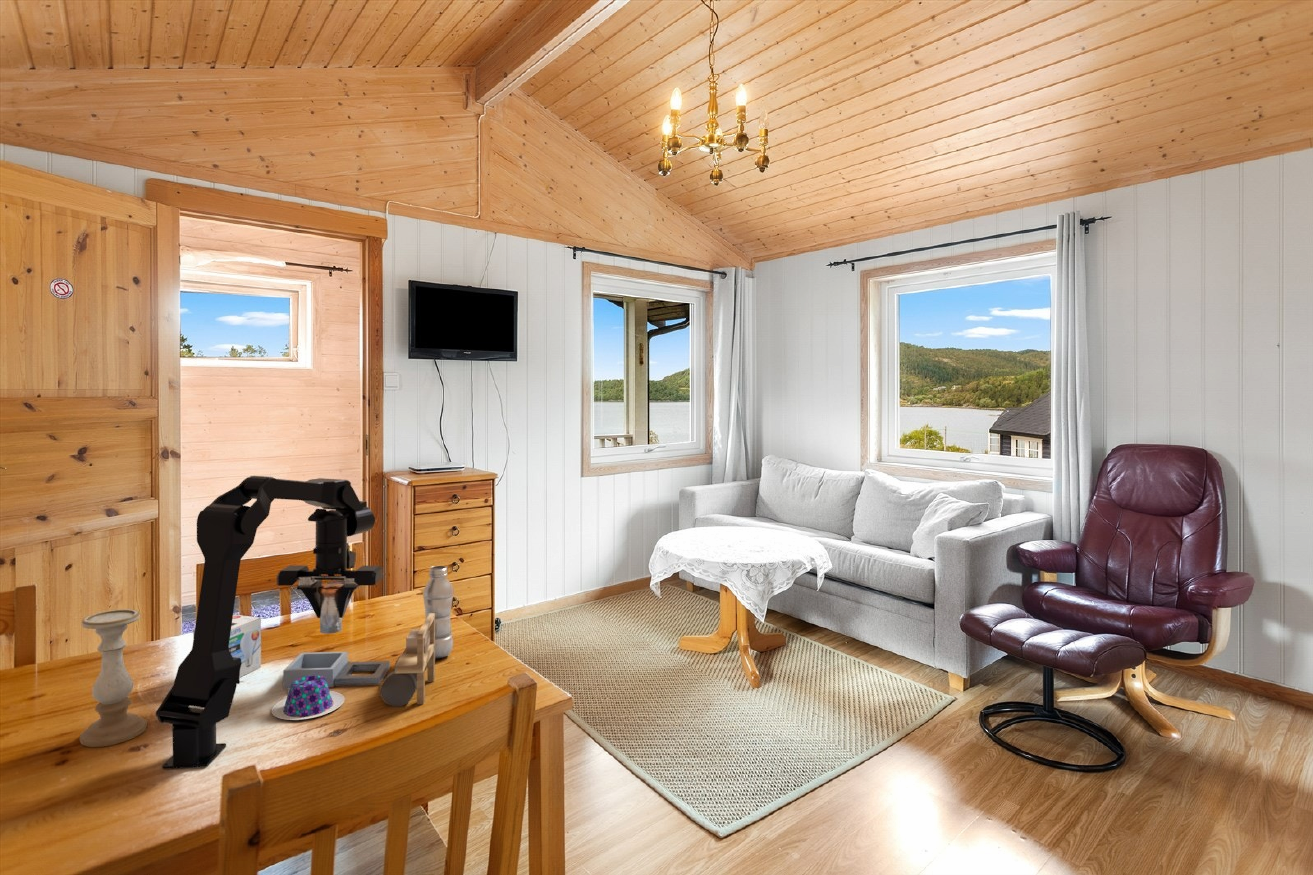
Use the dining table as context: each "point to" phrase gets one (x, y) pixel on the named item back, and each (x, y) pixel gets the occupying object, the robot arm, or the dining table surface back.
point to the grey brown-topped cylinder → (330, 608)
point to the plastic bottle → (440, 608)
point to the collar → (354, 680)
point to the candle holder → (112, 682)
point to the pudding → (308, 699)
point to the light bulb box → (246, 642)
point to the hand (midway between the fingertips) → (330, 617)
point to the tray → (315, 666)
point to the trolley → (412, 667)
